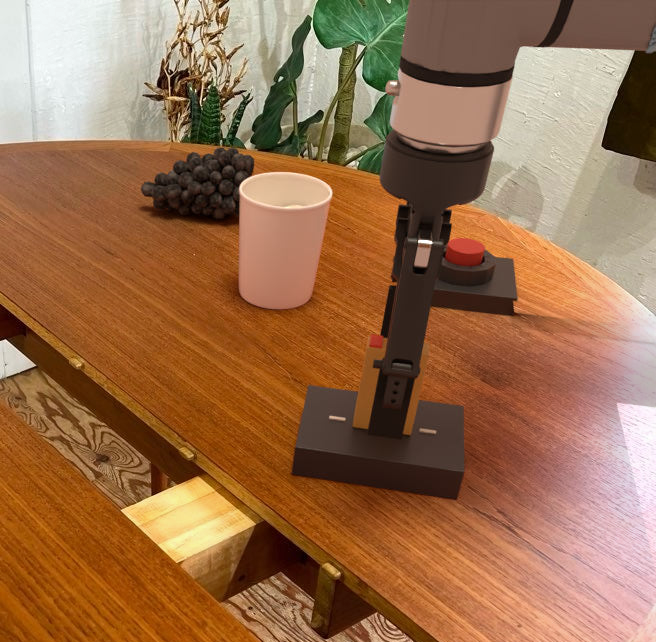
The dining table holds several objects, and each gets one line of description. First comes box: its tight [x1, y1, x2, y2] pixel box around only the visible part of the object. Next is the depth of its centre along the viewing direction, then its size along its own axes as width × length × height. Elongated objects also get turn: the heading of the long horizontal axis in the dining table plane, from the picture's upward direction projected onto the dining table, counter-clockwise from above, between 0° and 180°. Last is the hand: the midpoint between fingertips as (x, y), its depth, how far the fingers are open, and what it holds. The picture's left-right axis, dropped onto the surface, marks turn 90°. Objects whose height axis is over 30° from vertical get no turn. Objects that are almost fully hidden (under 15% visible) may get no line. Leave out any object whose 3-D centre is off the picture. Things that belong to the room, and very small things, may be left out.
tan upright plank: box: [353, 333, 430, 435], centre depth 81 cm, size 5×2×8 cm, turn 76°
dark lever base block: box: [291, 384, 466, 500], centre depth 85 cm, size 14×10×3 cm
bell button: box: [445, 237, 486, 266], centre depth 107 cm, size 4×4×2 cm
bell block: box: [431, 244, 519, 317], centre depth 109 cm, size 12×10×4 cm
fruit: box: [140, 147, 255, 220], centre depth 124 cm, size 9×8×15 cm
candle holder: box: [238, 171, 333, 310], centre depth 105 cm, size 10×10×12 cm
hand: (388, 392), depth 82 cm, fingers open, 12 cm apart
